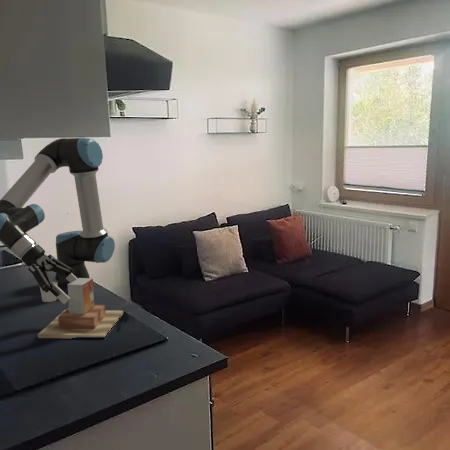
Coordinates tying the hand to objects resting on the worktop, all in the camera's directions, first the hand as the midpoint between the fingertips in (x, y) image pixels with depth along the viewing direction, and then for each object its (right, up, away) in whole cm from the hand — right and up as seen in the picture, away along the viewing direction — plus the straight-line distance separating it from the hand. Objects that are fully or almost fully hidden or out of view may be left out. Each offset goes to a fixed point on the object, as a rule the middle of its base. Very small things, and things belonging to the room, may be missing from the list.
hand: (75, 294), depth 154 cm
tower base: (+2, -11, +2) cm, 11 cm away
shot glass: (-20, -7, +28) cm, 35 cm away
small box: (+2, -6, +2) cm, 6 cm away
